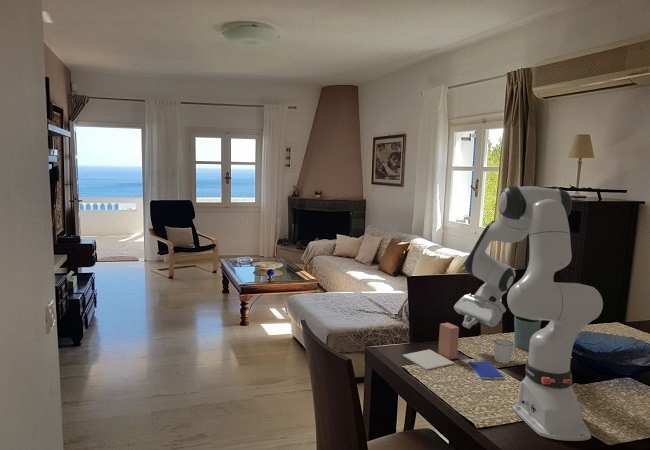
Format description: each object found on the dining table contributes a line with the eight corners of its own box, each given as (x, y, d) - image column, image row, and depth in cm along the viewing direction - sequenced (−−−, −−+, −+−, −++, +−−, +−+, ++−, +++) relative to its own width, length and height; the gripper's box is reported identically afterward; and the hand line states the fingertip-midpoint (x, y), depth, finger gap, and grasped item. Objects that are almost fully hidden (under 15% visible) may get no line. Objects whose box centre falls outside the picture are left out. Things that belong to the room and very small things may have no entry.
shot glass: (515, 364, 175) (516, 346, 174) (496, 363, 175) (497, 345, 174) (508, 357, 181) (509, 339, 181) (490, 356, 182) (491, 338, 181)
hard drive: (467, 361, 174) (480, 376, 161) (489, 361, 174) (504, 376, 162) (467, 365, 174) (480, 380, 162) (489, 365, 174) (503, 380, 162)
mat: (454, 364, 173) (454, 362, 173) (426, 370, 167) (426, 368, 167) (429, 350, 186) (429, 349, 186) (402, 355, 180) (402, 354, 180)
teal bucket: (532, 353, 185) (534, 324, 184) (507, 346, 193) (509, 317, 191) (543, 347, 192) (545, 319, 191) (518, 340, 200) (521, 312, 198)
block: (457, 358, 179) (459, 327, 178) (449, 359, 177) (450, 328, 176) (446, 352, 184) (448, 322, 183) (438, 353, 183) (439, 323, 181)
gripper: (462, 288, 195) (443, 314, 192) (502, 301, 177) (481, 330, 174) (470, 297, 197) (450, 323, 194) (509, 311, 179) (489, 340, 176)
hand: (465, 326), depth 184 cm, fingers closed
